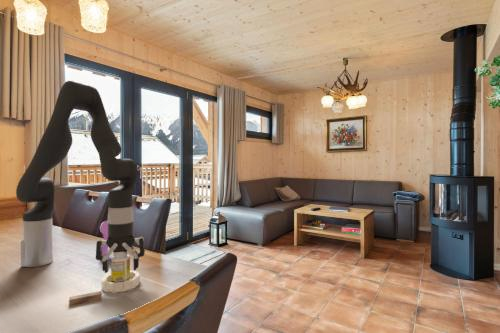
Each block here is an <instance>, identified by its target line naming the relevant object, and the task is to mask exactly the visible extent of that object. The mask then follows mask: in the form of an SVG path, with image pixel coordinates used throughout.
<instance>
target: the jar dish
mask: <svg viewBox="0 0 500 333" xmlns="http://www.w3.org/2000/svg"><path fill="white" fill-rule="evenodd" d="M140 281H141V280H140V272H138V271H137V270H131V269H130V280H127V281H124V282H116V283H114V282H112V281H111V272H110V273H108V274H106V275H105V276H103V278H102V279H101V290H102V291H104V292H106V293H111V294H112V293H113V294H114V293H115V294H116V293H122V292H126V291H130V290H133V289H134V288H136V287H138V286H139V285H140Z"/></svg>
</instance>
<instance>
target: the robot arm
mask: <svg viewBox="0 0 500 333" xmlns="http://www.w3.org/2000/svg"><path fill="white" fill-rule="evenodd" d="M74 110H78V111H83V112H86V113H87V114H89V116H90V117H91V119H92V124H91V127H90V139H91V141H92V144H93V146H94V147H95V149H96V151H97V153H98V156H99V163H100V169H101V174H102V175H103V177H104V178H105V179H107V181H110V182H118V181H119V183H118V186H116V187H114V188H112V189H110V190H109V191H108V210H107V221H108V239H107V240H104V239H102V238H99V239H98V240H97V241H96V248H95V249H96V250H95V260H96V261H101V262H102V263H101V264H102V265H101V266H102V268H101V269H102V272H104V273H105V274H107V273H108V272H109V257H110V256H111V255H112V254H113V253H114V252H124V253H125V252H127V253H128V254H130V256H132V258H133V271H137V269H138V268H139V266H140V261H139V260H140V259H139V258H141V257H144V256H145V254H146V252H145V251H146V250H145V238H144V236H140V237H135V236H134V218H135V217H134V209H133V193H134V188H135V186H136V185H135V184H136V182H137V177H138V172H139V171H138V165H137V162H136V161H134V160H133V159H132V158H116V157H118V156H119V155H120V154H122V146H121V144H120V142H119V139H117V137H116V135H115V134H114V130H113V129H112V127H111V124H110V122H109V119H108V115H107V112H106V109H105V106H104V103H103V99H102V97H101V94H100V92H99V91H98V89H97V88H96V87H94V86H92V85H90V84H86V83H82V82H79V81H74V80H66V81H65V82H64V83H63V85H62V86H61V87H60V90H59V92H58V96H57V98H56V101H55V104H54V108H53V110H52V115H51V117H50V119H49V122H48V123H47V126H46V128H45V130H44V132H43V134H42V137H41V138H40V140H39V143H38V145H37V148H36V150H35V153H34V155H33V157H32V159H31V161H30V163H29V165H28V166H27V168H26V169H25V171H24V173H23V174H22V176H21V178H20V179H19V181H18V183H17V186H16V190H15V194H16V198H17V200H18V201H19V202H21V203H24V204H25V203H26V204H28V203H36V205H35V206H34V207H32V208H30V209H28V210H26V211H25V212H23V213H22V240H21V241H20V267H23V268H24V267H25V268H37V267H42V266H46V265H49V264H51V263H52V262H53V261H54V258H53V257H54V252H53V249H54V247H53V241H54V240H53V239H54V238H53V237H54V236H53V213H54V210H55V194H56V193H55V191H56V190H55V184H54V182H53V180H52V179H51V178H50V177H44V176H45V175H46V174H47V173H49V172H50V171H51V170H52V169H54V168H55V167H56V166H57V165H59V164H61V162H63V161H64V160H65V159H66V157H67V155H68V153H69V151H70V149H71V147H72V145H73V135H72V132H71V128H70V125H69V121H70V118H71V117H70V116H71V115H72V112H73V111H74ZM135 242H136V244H137V245H139V252H138V251H137V250H136V248H135V246H133V245H134V244H135ZM105 244H107V245H108V252H107V253H106V254H105V255H102V247H103V246H104V245H105Z"/></svg>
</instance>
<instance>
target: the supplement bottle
mask: <svg viewBox="0 0 500 333" xmlns="http://www.w3.org/2000/svg"><path fill="white" fill-rule="evenodd" d="M130 258H131V255H129V254H128V251H127V252H125V253H124V252H113V256H112V257H111V258H110V268H111V270H110V273H111V281H112V282H114V283H116V282H124V281H127V280H130V270H131V261H130V260H131V259H130Z"/></svg>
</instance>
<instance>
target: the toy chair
mask: <svg viewBox="0 0 500 333" xmlns="http://www.w3.org/2000/svg"><path fill="white" fill-rule="evenodd" d="M99 231H100V233H101V234H102V236H103V240H107V239H108V220H104V221H103V222H102V223H100V226H99ZM108 250H109V247H108V245H107V244H105V245H104V246H103V247H102V255H105V254H106V253H107V252H108Z"/></svg>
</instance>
